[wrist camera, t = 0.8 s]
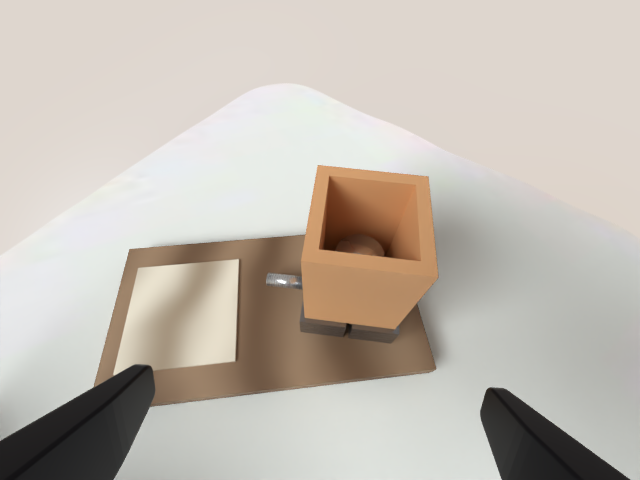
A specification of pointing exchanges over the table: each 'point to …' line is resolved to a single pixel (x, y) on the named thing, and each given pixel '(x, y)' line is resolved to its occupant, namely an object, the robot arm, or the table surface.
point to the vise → (337, 329)
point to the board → (237, 326)
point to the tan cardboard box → (365, 270)
